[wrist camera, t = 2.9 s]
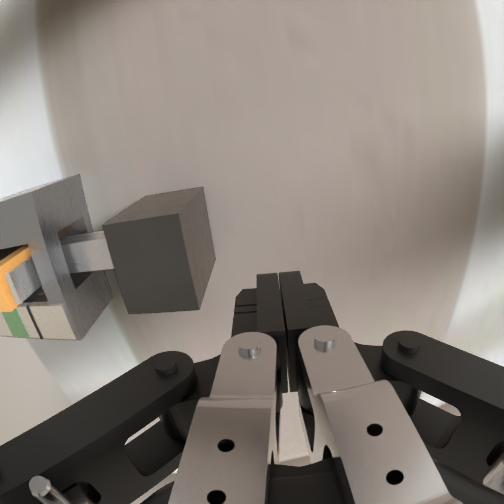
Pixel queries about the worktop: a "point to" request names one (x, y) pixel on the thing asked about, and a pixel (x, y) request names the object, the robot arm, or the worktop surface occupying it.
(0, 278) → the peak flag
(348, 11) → the worktop surface
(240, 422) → the robot arm
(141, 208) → the dark cube on shaft
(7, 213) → the gauge housing
